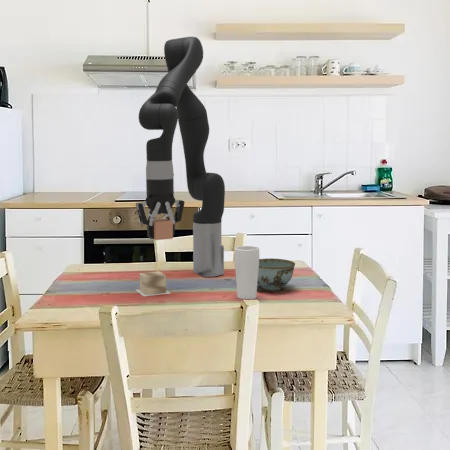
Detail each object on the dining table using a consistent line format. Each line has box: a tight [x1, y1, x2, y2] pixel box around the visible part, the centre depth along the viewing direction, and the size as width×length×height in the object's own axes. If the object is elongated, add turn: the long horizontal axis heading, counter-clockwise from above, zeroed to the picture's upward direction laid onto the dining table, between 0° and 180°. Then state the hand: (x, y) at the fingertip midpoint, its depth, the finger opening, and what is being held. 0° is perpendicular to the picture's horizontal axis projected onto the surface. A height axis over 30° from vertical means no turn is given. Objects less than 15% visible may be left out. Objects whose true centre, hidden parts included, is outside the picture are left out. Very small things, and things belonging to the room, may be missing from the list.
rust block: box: [153, 218, 174, 241], centre depth 187 cm, size 5×5×5 cm
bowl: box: [257, 258, 296, 292], centre depth 199 cm, size 14×13×8 cm
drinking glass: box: [234, 245, 260, 300], centre depth 184 cm, size 7×7×15 cm
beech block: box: [139, 271, 167, 295], centre depth 190 cm, size 6×6×5 cm
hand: (161, 237), depth 187 cm, fingers closed on rust block, 5 cm apart
